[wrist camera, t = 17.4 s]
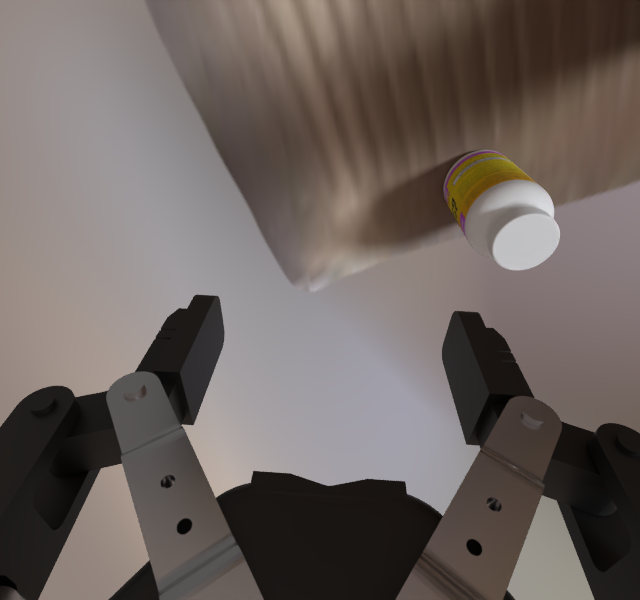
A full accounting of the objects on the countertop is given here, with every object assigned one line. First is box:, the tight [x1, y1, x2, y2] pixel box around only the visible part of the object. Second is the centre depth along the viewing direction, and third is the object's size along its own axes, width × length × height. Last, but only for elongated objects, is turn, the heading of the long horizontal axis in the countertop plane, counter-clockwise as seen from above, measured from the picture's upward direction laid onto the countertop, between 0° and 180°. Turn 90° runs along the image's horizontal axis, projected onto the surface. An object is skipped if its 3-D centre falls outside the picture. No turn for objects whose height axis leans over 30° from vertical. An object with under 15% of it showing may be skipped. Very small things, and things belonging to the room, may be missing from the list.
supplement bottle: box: [443, 150, 560, 270], centre depth 33 cm, size 7×7×13 cm
